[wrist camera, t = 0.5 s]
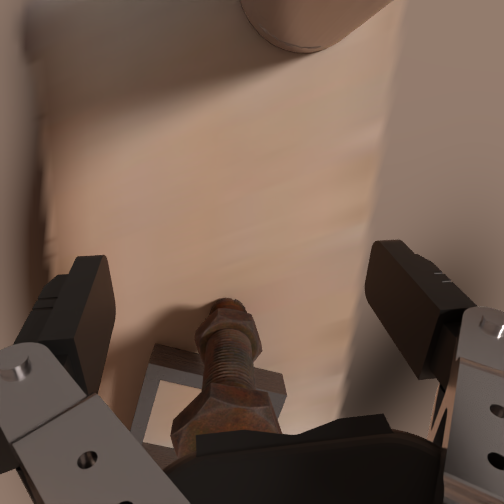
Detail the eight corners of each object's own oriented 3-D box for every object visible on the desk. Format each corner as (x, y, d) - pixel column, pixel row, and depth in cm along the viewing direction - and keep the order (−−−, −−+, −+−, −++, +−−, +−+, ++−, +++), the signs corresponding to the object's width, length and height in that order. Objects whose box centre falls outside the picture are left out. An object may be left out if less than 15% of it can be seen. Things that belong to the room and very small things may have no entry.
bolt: (188, 334, 34) (160, 483, 20) (200, 279, 33) (178, 397, 18) (255, 346, 35) (274, 498, 20) (269, 293, 33) (300, 416, 19)
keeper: (155, 343, 34) (148, 363, 31) (282, 374, 36) (286, 395, 33) (126, 450, 37) (117, 476, 34) (244, 473, 39) (246, 501, 36)
